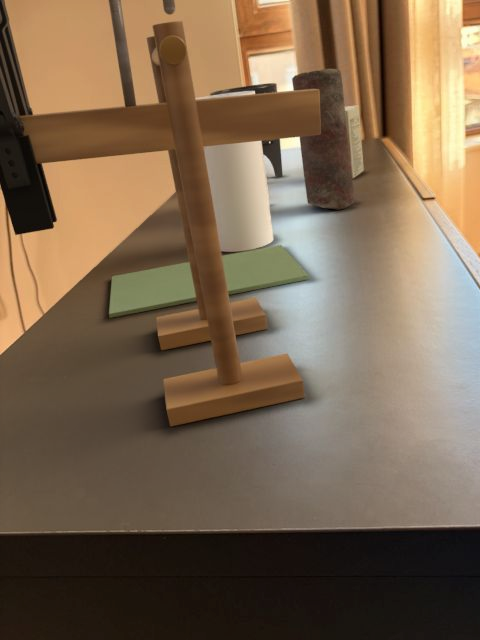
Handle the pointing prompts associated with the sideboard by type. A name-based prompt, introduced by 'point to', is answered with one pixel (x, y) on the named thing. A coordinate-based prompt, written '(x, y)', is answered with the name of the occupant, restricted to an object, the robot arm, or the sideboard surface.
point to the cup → (239, 195)
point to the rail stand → (207, 268)
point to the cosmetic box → (354, 139)
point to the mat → (178, 286)
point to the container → (237, 95)
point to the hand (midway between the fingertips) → (36, 226)
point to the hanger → (167, 117)
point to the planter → (269, 149)
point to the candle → (327, 144)
